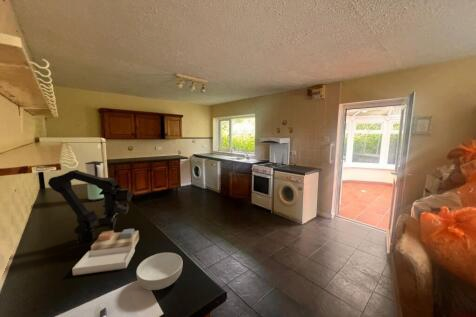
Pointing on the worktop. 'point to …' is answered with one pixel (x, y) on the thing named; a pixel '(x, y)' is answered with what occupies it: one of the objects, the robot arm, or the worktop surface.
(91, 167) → the juicer
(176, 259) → the cereal bowl
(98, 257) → the bin
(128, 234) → the tile slate
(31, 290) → the worktop surface
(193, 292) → the worktop surface
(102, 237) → the tile terracotta
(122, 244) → the birch board
